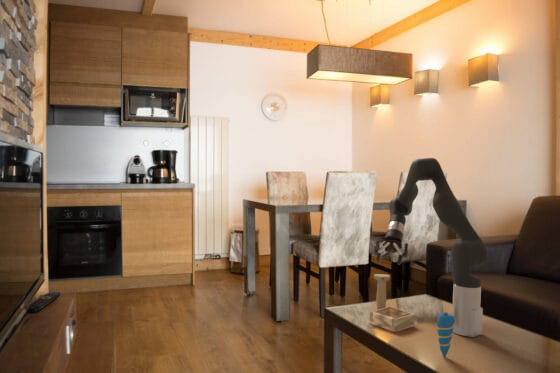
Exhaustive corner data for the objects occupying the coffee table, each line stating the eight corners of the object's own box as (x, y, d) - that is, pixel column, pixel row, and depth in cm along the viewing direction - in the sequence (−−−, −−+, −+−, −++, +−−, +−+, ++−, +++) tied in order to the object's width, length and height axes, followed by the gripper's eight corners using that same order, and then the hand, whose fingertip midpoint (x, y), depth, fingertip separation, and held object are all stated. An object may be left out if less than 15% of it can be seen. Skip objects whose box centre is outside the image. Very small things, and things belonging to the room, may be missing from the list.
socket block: (414, 326, 172) (414, 313, 172) (395, 332, 165) (395, 319, 165) (388, 318, 181) (389, 306, 181) (369, 323, 174) (370, 311, 174)
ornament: (449, 354, 145) (451, 306, 145) (456, 360, 140) (457, 311, 140) (433, 353, 145) (434, 306, 145) (439, 360, 140) (441, 311, 140)
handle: (372, 309, 192) (373, 273, 191) (387, 310, 191) (389, 274, 191) (373, 313, 187) (374, 276, 187) (389, 313, 187) (390, 277, 186)
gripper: (378, 227, 210) (370, 256, 200) (410, 229, 204) (404, 259, 193) (380, 237, 215) (373, 266, 205) (411, 240, 208) (406, 269, 198)
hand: (388, 262), depth 199 cm, fingers open, 8 cm apart
